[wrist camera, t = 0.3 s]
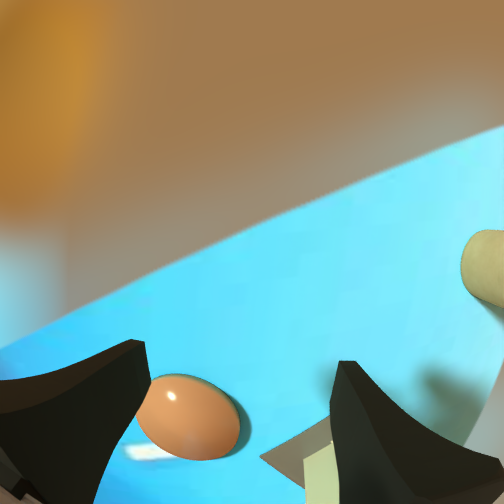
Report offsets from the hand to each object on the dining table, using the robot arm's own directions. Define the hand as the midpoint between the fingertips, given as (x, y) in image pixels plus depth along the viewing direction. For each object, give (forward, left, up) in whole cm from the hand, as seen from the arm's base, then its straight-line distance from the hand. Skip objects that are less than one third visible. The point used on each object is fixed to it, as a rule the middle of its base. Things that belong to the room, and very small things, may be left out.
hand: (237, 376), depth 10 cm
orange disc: (-11, -4, -11) cm, 16 cm away
